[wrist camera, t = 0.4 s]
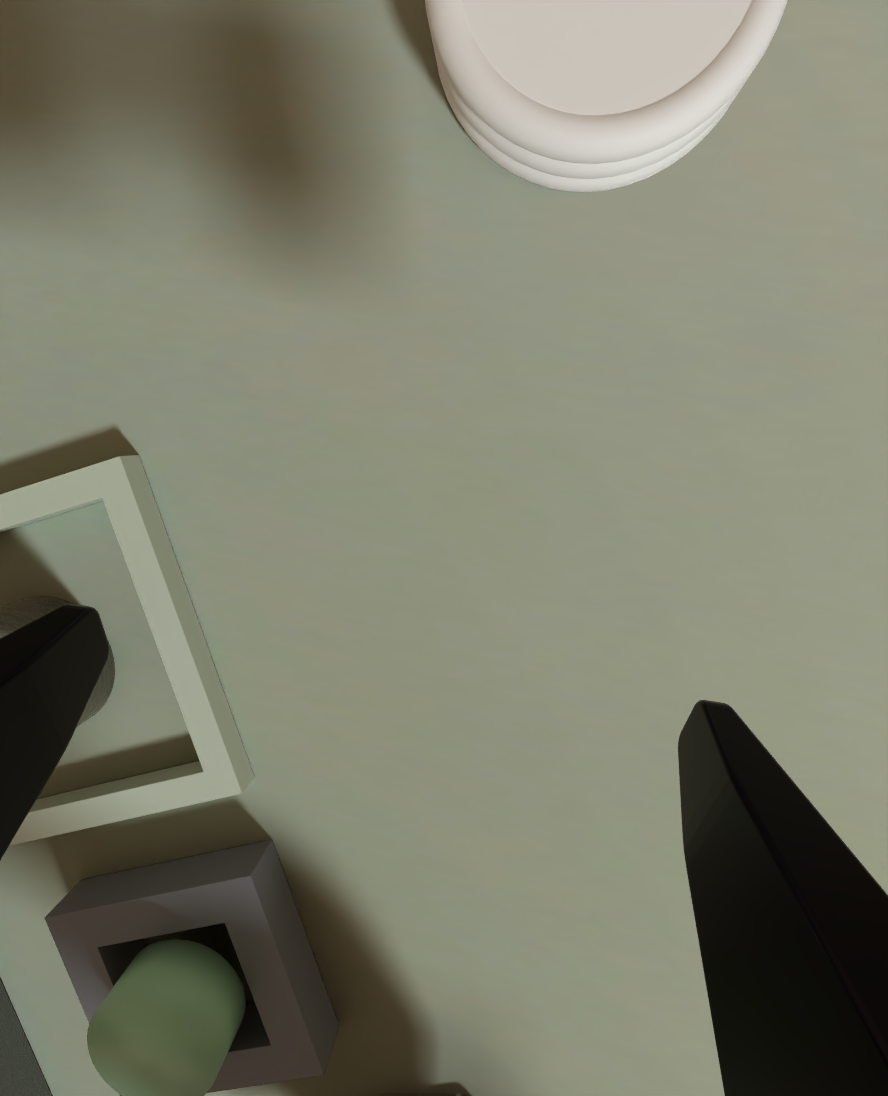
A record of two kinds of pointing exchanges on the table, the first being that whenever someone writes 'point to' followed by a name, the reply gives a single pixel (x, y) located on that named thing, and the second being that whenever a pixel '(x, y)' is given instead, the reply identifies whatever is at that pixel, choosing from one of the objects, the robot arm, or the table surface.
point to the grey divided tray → (17, 1056)
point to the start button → (167, 1021)
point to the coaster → (595, 80)
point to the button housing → (254, 928)
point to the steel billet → (32, 608)
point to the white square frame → (176, 642)
